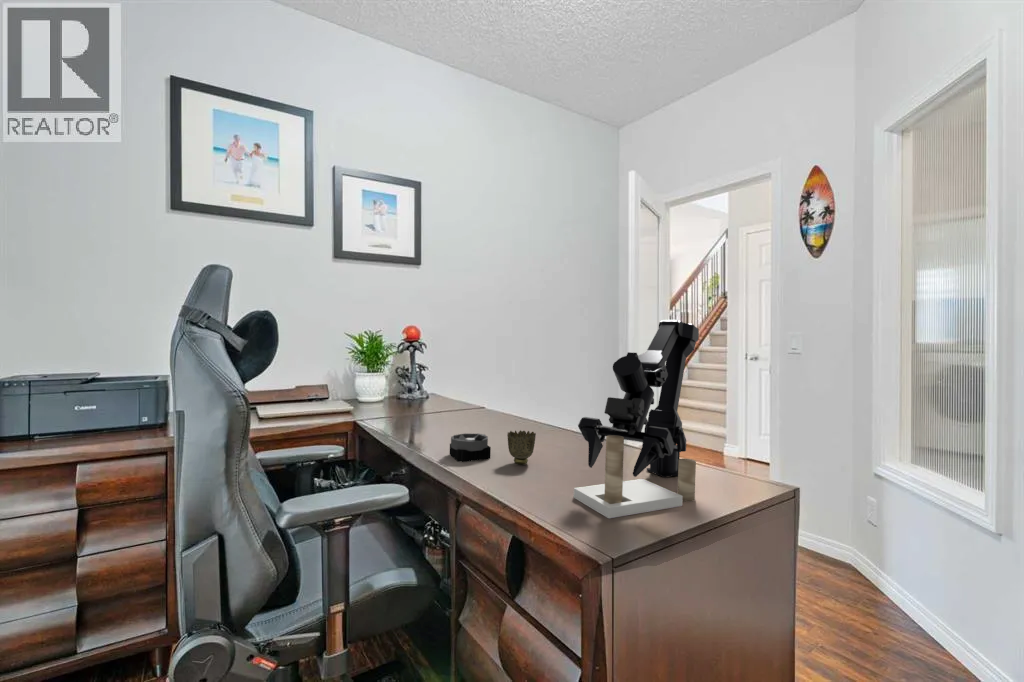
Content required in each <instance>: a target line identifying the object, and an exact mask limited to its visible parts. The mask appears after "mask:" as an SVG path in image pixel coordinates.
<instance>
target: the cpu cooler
mask: <svg viewBox="0 0 1024 682" xmlns="http://www.w3.org/2000/svg"><path fill="white" fill-rule="evenodd" d="M488 442H489V440H488V436H487V435H486V434H485V433H466V432H465V433H460V434H459V433H458V434H454V435H452V436H450V443H449V456H451V458H453V459H454V460H455V461H456V462H461V463H464V462H465V463H468V462H476V461H478V462H479V461H486V460H487V461H488V460H490V459H491V451H492V450H491V449H492V448H491V446H489V445H488V444H489V443H488Z"/></svg>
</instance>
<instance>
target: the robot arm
mask: <svg viewBox="0 0 1024 682" xmlns="http://www.w3.org/2000/svg"><path fill="white" fill-rule="evenodd" d="M699 337H700V332H699V328H698V327H697V326H695V325H694V323H686V322H683V321H681V320H679V319H663V320H660V321H659V323H658V329H657V331H656V333H655V334H654V336H653V339H652V341H651V342H650V344H649V345H648V347H647V349H646V351H645V352H643V353H641V354H638V352H627V354H626V355H624V356H622V357H620V358H617V360H615V361H614V362H613V364H612V370H613V373H614V376H615V377H616V381H617V383H618V385H619V388H620V390H621V391H622V392H624V393H625V394H624V395H623V398H619V397H611V396H609V397H608V396H607V400H606V402H605V403H606V404H605V408H604V414H605V415H608V417H609V418H608V421H609V424H612V426H607V425H603V424H602V421H601V420H600V418H596V417H595V418H594V417H588V416H584V417H581V419H580V420H579V421H578V424H577V426H578V429H579V431H580V433H581V434H582V437H583V440H585V441H586V442H587V443H588V458H587V459H588V461H587V462H588V463H587V464H588V467H589V468H593V466H594V465H595V463H596V461H597V460H598V457H599V455H600V453H601V450H602V449H603V446H604V445H603V442H604V441H605V440H606V436H608V435H617V436H622V437H624V441H631V442H637V443H642V445H641V449H640V452H639V454H638V456H637V459H636V461H635V464H634V468H633V470H632V476H633V477H634V478H636V477H637V476H639V474H641V473H642V472H643V471H644V470H646V471H647V472H650V473H651V474H652V473H653V474H655V475H658V476H660V477H662V478H669V477H678V465H679V459H680V453H682V452H686V451H687V438H686V435H685V431H684V430H683V429H684V428H683V421H682V420H681V417H680V415H679V413H678V409H679V404H680V396H681V391H682V385H683V381H684V380H683V378H684V373H685V366H686V361H687V358H688V357H689V356H690V355H691V354H692V353H693V352H694V350H695V348H696V344H697V342H698V341H699ZM653 388H660V392H659V393H660V394H659V399H658V405H657V406H656V407H655V408H653V409H650V408H651V405H654V404H655V399H654V397H655V391H654V389H653ZM647 416H648V417H647ZM647 418H648V419H647ZM644 425H645V426H644ZM643 428H644V431H643ZM648 466H649V467H648Z"/></svg>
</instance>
